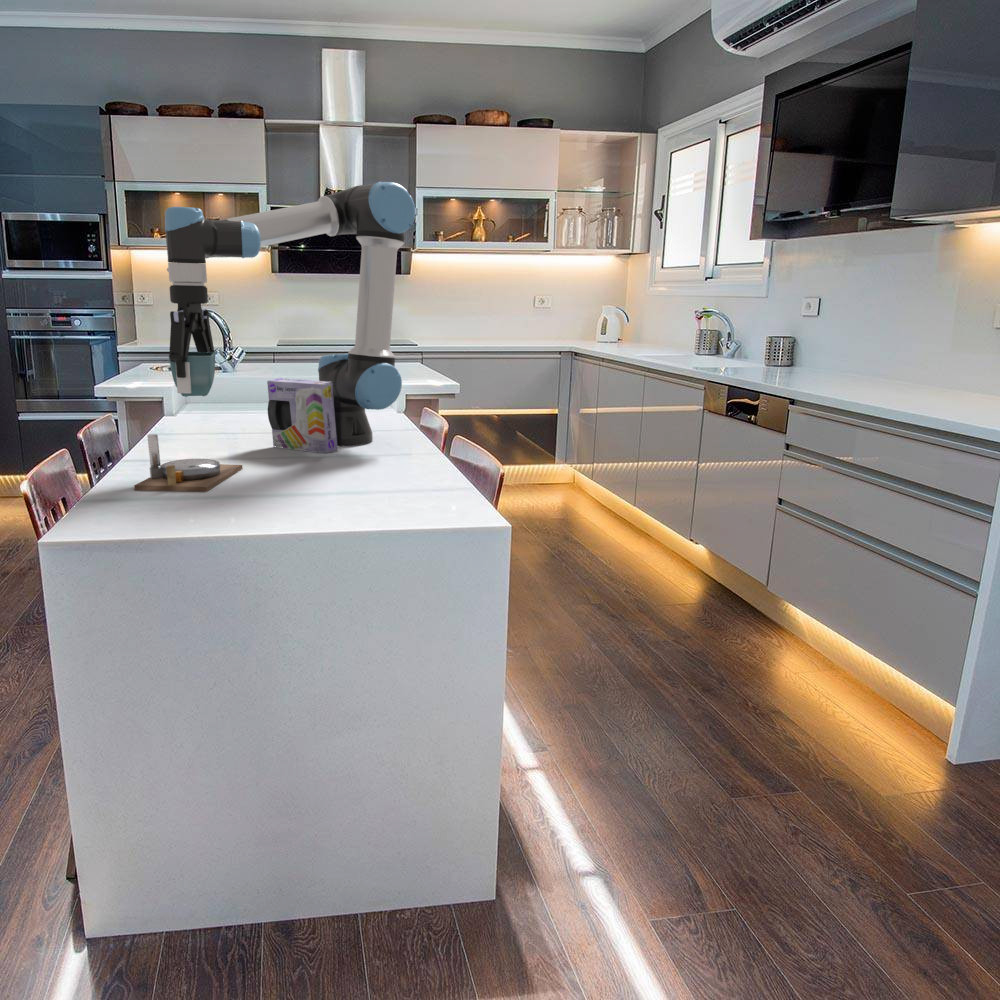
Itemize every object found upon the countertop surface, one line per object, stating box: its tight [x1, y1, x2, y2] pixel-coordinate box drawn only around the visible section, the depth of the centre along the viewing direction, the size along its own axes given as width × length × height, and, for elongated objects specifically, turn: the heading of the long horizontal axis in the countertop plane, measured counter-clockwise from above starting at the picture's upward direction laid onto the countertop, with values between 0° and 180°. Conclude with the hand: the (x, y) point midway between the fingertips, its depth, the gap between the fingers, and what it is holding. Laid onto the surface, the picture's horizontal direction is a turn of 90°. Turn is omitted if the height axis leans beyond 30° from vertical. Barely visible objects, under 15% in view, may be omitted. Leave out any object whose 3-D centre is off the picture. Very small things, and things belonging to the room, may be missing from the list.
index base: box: [133, 463, 243, 493], centre depth 182 cm, size 15×21×5 cm
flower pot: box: [168, 351, 216, 398], centre depth 183 cm, size 9×9×9 cm
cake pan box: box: [266, 377, 339, 454], centre depth 213 cm, size 19×5×18 cm, turn 60°
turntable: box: [147, 433, 221, 482], centre depth 180 cm, size 14×13×9 cm
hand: (195, 390), depth 184 cm, fingers closed on flower pot, 10 cm apart
